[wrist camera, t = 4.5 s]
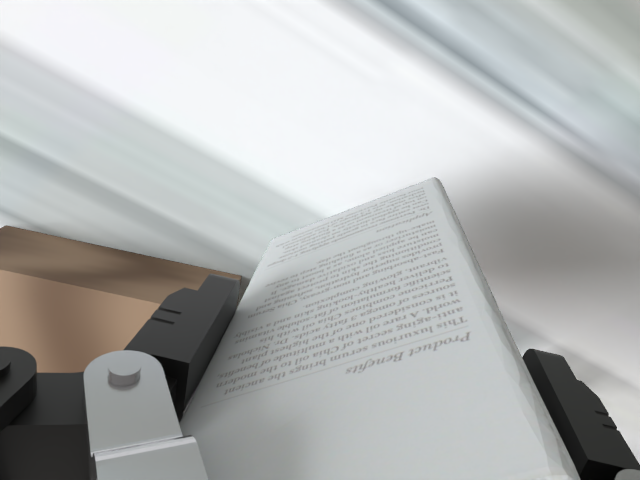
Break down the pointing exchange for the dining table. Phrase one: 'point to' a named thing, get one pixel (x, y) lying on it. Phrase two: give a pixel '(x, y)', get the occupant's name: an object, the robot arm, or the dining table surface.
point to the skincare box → (373, 360)
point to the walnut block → (80, 296)
